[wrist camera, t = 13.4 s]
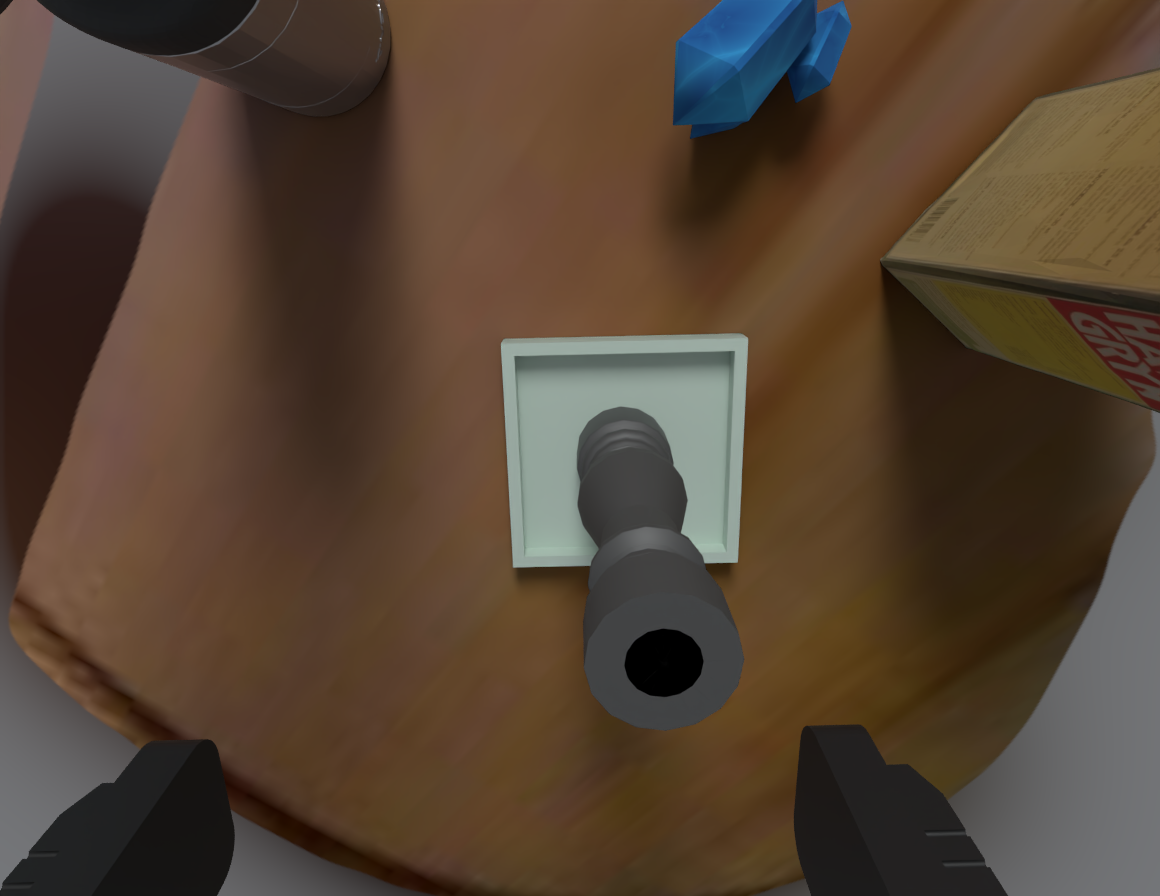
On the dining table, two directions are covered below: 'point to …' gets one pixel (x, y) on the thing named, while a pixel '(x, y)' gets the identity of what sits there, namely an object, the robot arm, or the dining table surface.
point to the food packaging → (1055, 241)
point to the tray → (608, 380)
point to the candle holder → (648, 583)
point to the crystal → (753, 59)
